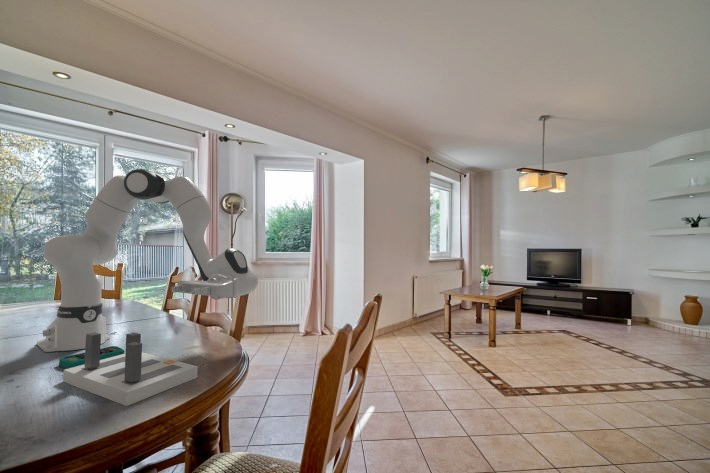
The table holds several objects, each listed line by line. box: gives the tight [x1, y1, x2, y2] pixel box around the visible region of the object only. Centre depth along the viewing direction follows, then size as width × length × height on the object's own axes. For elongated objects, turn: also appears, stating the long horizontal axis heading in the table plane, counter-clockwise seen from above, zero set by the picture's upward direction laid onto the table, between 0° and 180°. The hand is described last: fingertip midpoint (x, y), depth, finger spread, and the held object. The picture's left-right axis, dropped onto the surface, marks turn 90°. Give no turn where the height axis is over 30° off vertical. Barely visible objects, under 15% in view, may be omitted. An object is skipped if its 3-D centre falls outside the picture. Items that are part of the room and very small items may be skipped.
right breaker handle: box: [125, 342, 143, 382], centre depth 78 cm, size 3×2×9 cm, turn 64°
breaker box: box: [62, 351, 199, 407], centre depth 86 cm, size 28×18×3 cm, turn 64°
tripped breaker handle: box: [124, 332, 142, 357], centre depth 86 cm, size 3×2×9 cm, turn 64°
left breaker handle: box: [84, 333, 102, 369], centre depth 85 cm, size 3×2×9 cm, turn 64°
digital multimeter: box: [58, 345, 125, 370], centre depth 99 cm, size 7×15×3 cm, turn 152°
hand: (183, 290), depth 99 cm, fingers open, 8 cm apart
